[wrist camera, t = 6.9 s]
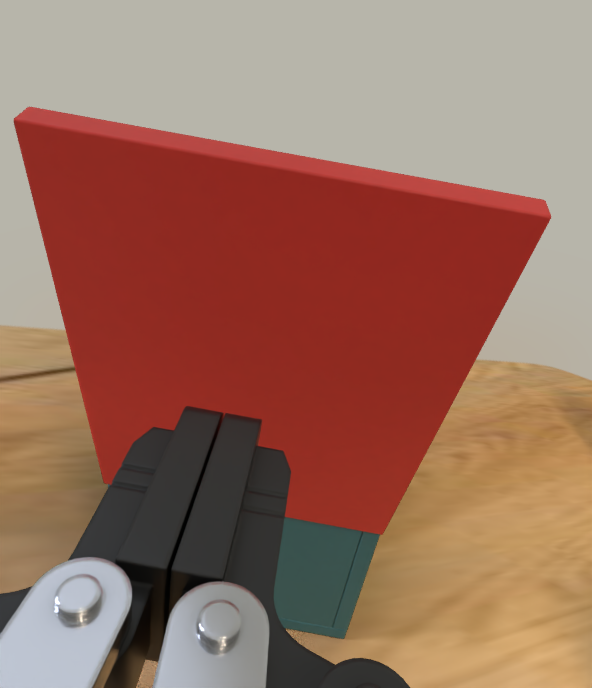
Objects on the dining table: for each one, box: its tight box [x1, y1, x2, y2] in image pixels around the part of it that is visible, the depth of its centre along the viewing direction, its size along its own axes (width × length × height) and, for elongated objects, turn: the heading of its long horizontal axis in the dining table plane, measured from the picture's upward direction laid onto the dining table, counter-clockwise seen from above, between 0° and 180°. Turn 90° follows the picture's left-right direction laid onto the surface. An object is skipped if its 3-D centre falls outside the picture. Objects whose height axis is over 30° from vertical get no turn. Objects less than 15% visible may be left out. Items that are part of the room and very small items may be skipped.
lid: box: [14, 107, 551, 535], centre depth 19 cm, size 16×13×1 cm
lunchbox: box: [108, 484, 380, 639], centre depth 33 cm, size 16×13×8 cm
